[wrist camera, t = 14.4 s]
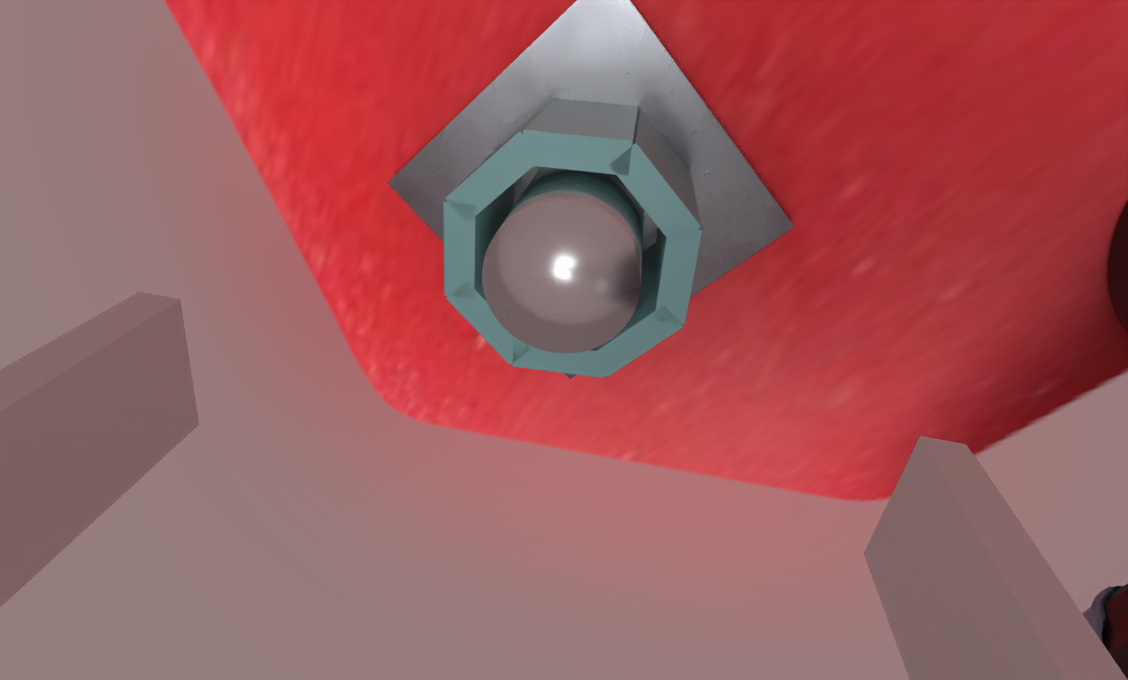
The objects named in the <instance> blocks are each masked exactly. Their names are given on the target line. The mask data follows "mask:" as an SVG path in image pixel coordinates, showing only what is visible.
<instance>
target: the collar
mask: <svg viewBox="0 0 1128 680" xmlns="http://www.w3.org/2000/svg"><path fill="white" fill-rule="evenodd" d="M533 166H540V167H550V168H559V169H568V170H578V171H587V172H597V173H606V174H616V175H617V176H618V177H619V179H620V180H621V181H622V182H623V184H624V185H625V186H626V187H627V189H628V190H629V191H630V192H631V194H632V195H633V196H634V197H635V199H636V200H637V201H638V202H639V204H640V205H641V206H642V207H643V209H644V210H645V211H646V212H647V214H648V215H649V216H650V217H651V219H652V220H653V221H654V222H655V224H656V225H657V226H658V229H657V236H656V242H655V243H654V244H653V245H651V246H650V247H648V248H647V249H646V250H644V251H643V252H642V265H641V284H640V295H639V299H638V303H637V306H636V309H635V311H634V313H633V315H632V317H631V319H630V320H629V322H628V323H627V324H626V326H625V327H624V328H623V329H622V330H621V331H620V332H619V333H618V334H617V335H616V336H615V337H613V338H612V339H611V340H609V341H608V342H606V343H604V344H603V345H601V346H598V347H596V348H594V349H591V350H587V351H584V352H578V353H566V354H564V353H553V352H547V351H543V350H540V349H536V348H534V347H532V346H529V345H527V344H525V343H523V342H522V341H520V340H518V339H517V338H515V337H514V336H513V335H511V334H510V333H509V332H508V331H507V330H506V329H505V328H504V327H503V326H502V325H501V324H500V323H499V321H498V320H497V319H496V317H495V316H494V314H493V313H492V311H491V309H490V307H489V305H488V303H487V300H486V297H485V294H484V290H483V284H482V267H483V261H484V257H485V254H486V251H487V248H488V246H489V244H490V242H491V241H492V239H493V237H494V236H495V234H496V233H497V231H498V230H499V228H500V227H501V225H502V224H503V222H504V221H505V219H506V218H507V216H508V215H509V213H510V212H511V210H512V209H513V207H514V189H515V181H517V180H518V179H519V178H520V177H521V176H522V175H524V174H525V173H526V172H527V171H528V170H529V169H531V168H532V167H533ZM701 233H702V227H701V222H700V217H699V212H698V207H697V202H696V197H695V192H694V187H693V182H692V177H691V173H690V172H689V171H688V169H687V168H686V167H685V166H684V164H683V163H682V162H681V160H680V159H679V158H678V156H677V155H676V154H675V152H674V151H673V150H672V148H671V147H670V146H669V144H668V143H667V142H666V141H665V139H664V138H663V137H662V135H661V134H660V133H659V131H658V130H657V129H656V127H655V126H654V125H653V123H652V122H651V121H650V119H649V118H648V117H647V116H646V114H645V113H644V112H643V110H642V109H641V108H640V109H638V106H629V105H619V104H609V103H599V102H589V101H579V100H568V99H558V98H554V99H553V100H552V99H551V100H550V101H549V102H548V103H547V104H546V105H545V106H543V107H542V108H541V109H540V110H539V111H538V112H537V113H536V114H535V115H533V116H532V117H531V118H530V119H529V120H528V121H527V122H526V123H525V124H524V125H522V126H521V127H520V128H519V129H518V130H517V131H516V132H515V133H514V134H512V135H511V136H510V137H509V138H508V139H507V140H506V141H505V142H504V143H502V144H501V145H500V146H499V147H498V148H497V149H496V150H495V151H494V152H493V153H491V154H490V155H489V156H488V157H487V158H486V159H485V160H484V161H483V162H482V163H481V164H480V165H479V166H478V167H477V168H476V169H475V170H474V171H473V172H472V173H471V174H470V175H469V176H468V177H467V178H466V179H464V180H463V181H462V182H461V183H460V184H459V185H458V186H457V187H456V188H455V189H454V190H453V191H452V192H451V193H450V194H449V195H448V196H447V197H446V198H445V200H444V295H447V297H446V299H447V300H448V301H449V302H450V303H451V304H452V305H453V306H454V307H455V308H456V309H457V310H458V311H459V312H460V314H461V315H462V316H463V317H464V318H465V319H466V320H467V321H468V322H469V323H470V324H471V325H472V326H473V327H474V328H475V329H476V330H477V331H478V332H479V333H480V334H481V335H482V336H483V338H484V339H485V340H486V341H487V342H488V343H489V344H490V345H491V346H492V347H493V348H494V349H495V350H496V351H497V352H498V353H499V354H500V355H501V356H502V357H503V358H504V359H505V361H506V362H507V363H508V364H509V365H510V364H512V363H513V365H512V366H514V367H521V368H529V369H537V370H545V371H553V372H560V373H568V374H576V375H584V376H591V377H599V378H604V375H605V376H606V377H608V376H610V375H611V374H613V373H614V372H616V371H617V370H619V369H620V368H622V367H623V366H625V365H626V364H628V363H629V362H631V361H633V360H634V359H636V358H637V357H639V356H640V355H642V354H643V353H645V352H646V351H648V350H649V349H651V348H652V347H654V346H655V345H657V344H658V343H660V342H661V341H663V340H664V339H666V338H667V337H669V336H670V335H672V334H673V333H675V332H676V331H678V330H679V329H681V328H682V327H683V324H685V322H686V316H687V311H688V305H689V300H690V294H691V289H692V283H693V278H694V272H695V267H696V261H697V256H698V250H699V244H700V239H701Z"/></svg>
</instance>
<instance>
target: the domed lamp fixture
mask: <svg viewBox="0 0 1128 680" xmlns="http://www.w3.org/2000/svg"><path fill="white" fill-rule="evenodd" d="M554 98H558V99H568V100H579V101H589V102H599V103H609V104H619V105H629V106H638V109H640V108H641V109H642V110H643V112H644V113H645V114H646V116H647V117H648V118H649V119H650V121H651V122H652V123H653V125H654V126H655V127H656V129H657V130H658V131H659V133H660V134H661V135H662V137H663V138H664V139H665V141H666V142H667V143H668V144H669V146H670V147H671V148H672V150H673V151H674V152H675V154H676V155H677V156H678V158H679V159H680V160H681V162H682V163H683V164H684V166H685V167H686V168H687V169H688V171H689V172H690V173H691V177H692V182H693V187H694V192H695V197H696V202H697V207H698V212H699V217H700V222H701V227H702V233H701V239H700V244H699V250H698V256H697V261H696V267H695V272H694V278H693V283H692V289H691V294H690V297H692V296H693V295H694V294H696V293H697V292H699V291H700V290H702V289H703V288H705V287H706V286H708V285H709V284H711V283H712V282H714V281H715V280H717V279H718V278H720V277H721V276H722V275H724V274H725V273H727V272H728V271H730V270H731V269H733V268H734V267H736V266H737V265H739V264H740V263H742V262H743V261H745V260H746V259H747V258H749V257H750V256H752V255H753V254H755V253H756V252H758V251H759V250H761V249H762V248H764V247H765V246H767V245H768V244H770V243H771V242H773V241H774V240H775V239H777V238H778V237H780V236H781V235H783V234H784V233H786V232H787V231H789V230H790V229H792V228H793V227H794V225H793V224H792V222H791V220H790V219H789V218H788V216H787V215H786V213H785V212H784V211H783V209H782V208H781V207H780V205H779V204H778V202H777V201H776V200H775V198H774V197H773V196H772V194H771V193H770V191H769V190H768V189H767V187H766V186H765V185H764V183H763V182H762V180H761V179H760V178H759V176H758V175H757V174H756V172H755V171H754V169H753V168H752V167H751V165H750V164H749V163H748V161H747V160H746V158H745V157H744V156H743V154H742V153H741V152H740V150H739V149H738V147H737V146H736V145H735V143H734V142H733V140H732V139H731V138H730V136H729V135H728V134H727V132H726V131H725V129H724V128H723V127H722V125H721V124H720V123H719V121H718V120H717V118H716V117H715V116H714V114H713V113H712V112H711V110H710V109H709V107H708V106H707V105H706V103H705V102H704V101H703V99H702V98H701V96H700V95H699V94H698V92H697V91H696V90H695V88H694V87H693V85H692V84H691V83H690V81H689V80H688V79H687V77H686V76H685V74H684V73H683V72H682V70H681V69H680V68H679V66H678V65H677V63H676V62H675V61H674V59H673V58H672V56H671V55H670V54H669V52H668V51H667V50H666V48H665V47H664V45H663V44H662V43H661V41H660V40H659V39H658V37H657V36H656V34H655V33H654V32H653V30H652V29H651V28H650V26H649V25H648V23H647V22H646V21H645V19H644V18H643V17H642V15H641V14H640V12H639V11H638V10H637V8H636V7H635V6H634V4H633V3H632V1H631V0H577V1H576V2H575V3H574V4H573V5H572V6H571V7H569V8H568V9H567V10H566V11H565V12H564V13H563V14H562V15H561V16H560V17H559V18H558V19H557V20H556V21H555V22H554V23H553V24H552V25H551V26H550V27H549V28H548V29H547V30H546V31H545V32H544V33H542V34H541V35H540V36H539V37H538V38H537V39H536V40H535V41H534V42H533V43H532V44H531V45H530V46H529V47H528V48H527V49H526V50H525V51H524V52H523V53H522V54H521V55H520V56H519V57H518V58H517V59H515V60H514V61H513V62H512V63H511V64H510V65H509V66H508V67H507V68H506V69H505V70H504V71H503V72H502V73H501V74H500V75H499V76H498V77H497V78H496V79H495V80H494V81H493V82H492V83H491V84H490V85H488V86H487V87H486V88H485V89H484V90H483V91H482V92H481V93H480V94H479V95H478V96H477V97H476V98H475V99H474V100H473V101H472V102H471V103H470V104H469V105H468V106H467V107H466V108H465V109H464V110H463V111H461V112H460V113H459V114H458V115H457V116H456V117H455V118H454V119H453V120H452V121H451V122H450V123H449V124H448V125H447V126H446V127H445V128H444V129H443V130H442V131H441V132H440V133H439V134H438V135H437V136H436V137H434V138H433V139H432V140H431V141H430V142H429V143H428V144H427V145H426V146H425V147H424V148H423V149H422V150H421V151H420V152H419V153H418V154H417V155H416V156H415V157H414V158H413V159H412V160H411V161H410V162H409V163H407V164H406V165H405V166H404V167H403V168H402V169H401V170H400V171H399V172H398V173H397V174H396V175H395V176H394V177H393V178H392V179H391V180H390V181H389V182H388V184H389V185H390V186H391V187H392V188H393V189H394V190H395V191H396V192H397V193H398V194H399V195H400V196H401V197H402V199H403V200H404V201H405V202H406V203H407V204H408V205H409V206H410V207H411V208H412V209H413V210H414V211H415V213H416V214H417V215H418V216H419V217H420V218H421V219H422V220H423V221H424V222H425V223H426V224H427V225H428V227H429V228H430V229H431V230H432V231H433V232H434V233H435V234H436V235H437V236H438V237H439V238H440V239H441V240H442V242H443V243H444V200H445V198H446V197H447V196H448V195H449V194H450V193H451V192H452V191H453V190H454V189H455V188H456V187H457V186H458V185H459V184H460V183H461V182H462V181H463V180H464V179H466V178H467V177H468V176H469V175H470V174H471V173H472V172H473V171H474V170H475V169H476V168H477V167H478V166H479V165H480V164H481V163H482V162H483V161H484V160H485V159H486V158H487V157H488V156H489V155H490V154H491V153H493V152H494V151H495V150H496V149H497V148H498V147H499V146H500V145H501V144H502V143H504V142H505V141H506V140H507V139H508V138H509V137H510V136H511V135H512V134H514V133H515V132H516V131H517V130H518V129H519V128H520V127H521V126H522V125H524V124H525V123H526V122H527V121H528V120H529V119H530V118H531V117H532V116H533V115H535V114H536V113H537V112H538V111H539V110H540V109H541V108H542V107H543V106H545V105H546V104H547V103H548V102H549V101H550V100H551V99H552V100H553V99H554ZM657 229H658V226H657V225H656V224H655V222H654V221H653V220H652V219H651V217H650V216H649V215H648V214H647V212H646V211H645V210H644V209H643V207H642V206H641V205H640V204H639V202H638V201H637V200H636V199H635V197H634V196H633V195H632V194H631V192H630V191H629V190H628V189H627V187H626V186H625V185H624V184H623V182H622V181H621V180H620V179H619V177H618V176H617V175H616V174H606V173H597V172H587V171H578V170H568V169H559V168H550V167H540V166H533V167H532V168H531V169H529V170H528V171H527V172H526V173H525V174H524V175H522V176H521V177H520V178H519V179H518V180H517V181H515V189H514V207H513V209H512V210H511V212H510V213H509V215H508V216H507V218H506V219H505V221H504V222H503V224H502V225H501V227H500V228H499V230H498V231H497V233H496V234H495V236H494V237H493V239H492V241H491V242H490V244H489V246H488V248H487V251H486V254H485V257H484V261H483V267H482V284H483V290H484V294H485V297H486V300H487V303H488V305H489V307H490V309H491V311H492V313H493V314H494V316H495V317H496V319H497V320H498V321H499V323H500V324H501V325H502V326H503V327H504V328H505V329H506V330H507V331H508V332H509V333H510V334H511V335H513V336H514V337H515V338H517V339H518V340H520V341H522V342H523V343H525V344H527V345H529V346H532V347H534V348H536V349H540V350H543V351H547V352H553V353H564V354H566V353H578V352H584V351H587V350H591V349H594V348H596V347H598V346H601V345H603V344H604V343H606V342H608V341H609V340H611V339H612V338H613V337H615V336H616V335H617V334H618V333H619V332H620V331H621V330H622V329H623V328H624V327H625V326H626V324H627V323H628V322H629V320H630V319H631V317H632V315H633V313H634V311H635V309H636V306H637V303H638V299H639V295H640V284H641V265H642V252H643V251H644V250H646V249H647V248H648V247H650V246H651V245H653V244H654V243H655V242H656V236H657ZM565 374H566V375H567V376H568V377H569V378H570V379H571V378H572V377H574V376H575V375H576V374H568V373H565Z"/></svg>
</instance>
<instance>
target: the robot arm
mask: <svg viewBox="0 0 1128 680" xmlns="http://www.w3.org/2000/svg"><path fill="white" fill-rule="evenodd" d="M1109 287H1110V294H1111V299H1112V302H1113V306H1114V309H1115V311H1116V314H1117V316H1118V318H1119V320H1120V322H1121V323H1122V325H1123V327H1124V328H1125V330H1126V331H1127V332H1128V206H1127V208H1126V210H1125V212H1124V214H1123V216H1122V218H1121V221H1120V223H1119V226H1118V228H1117V231H1116V234H1115V238H1114V241H1113V245H1112V249H1111V254H1110V262H1109ZM198 425H199V421H198V414H197V407H196V401H195V394H194V388H193V381H192V375H191V368H190V362H189V355H188V349H187V342H186V335H185V329H184V322H183V316H182V309H181V302H180V299H176V298H170V297H165V296H159V295H154V294H149V293H143V292H138V293H136V294H135V295H133V296H131V297H129V298H128V299H126V300H124V301H122V302H121V303H119V304H117V305H115V306H113V307H112V308H110V309H108V310H106V311H105V312H103V313H101V314H99V315H97V316H96V317H94V318H92V319H90V320H88V321H87V322H85V323H83V324H81V325H79V326H78V327H76V328H74V329H72V330H70V331H69V332H67V333H66V334H63V335H62V336H60V337H58V338H56V339H55V340H53V341H51V342H49V343H47V344H46V345H44V346H42V347H40V348H39V349H37V350H35V351H33V352H31V353H29V354H28V355H26V356H24V357H22V358H21V359H19V360H17V361H15V362H14V363H12V364H10V365H8V366H6V367H5V368H3V369H1V370H0V607H1V606H2V605H3V604H4V603H5V602H7V601H8V600H9V599H10V598H11V597H12V596H13V595H14V594H15V593H16V592H18V591H19V590H20V589H21V588H22V587H23V586H24V585H25V584H26V583H27V582H28V581H29V580H30V579H32V578H33V577H34V576H35V575H36V574H37V573H38V572H39V571H40V570H41V569H43V568H44V567H45V566H46V565H47V564H48V563H49V562H50V561H51V560H52V559H53V558H54V557H55V556H57V555H58V554H59V553H60V552H61V551H62V550H63V549H64V548H65V547H66V546H68V545H69V544H70V543H71V542H72V541H73V540H74V539H75V538H76V537H77V536H78V535H79V534H80V533H82V532H83V531H84V530H85V529H86V528H87V527H88V526H89V525H90V524H91V523H93V522H94V521H95V520H96V519H97V518H98V517H99V516H100V515H101V514H102V513H103V512H104V511H106V509H108V508H109V507H110V506H111V505H112V504H113V503H114V502H115V501H116V500H117V499H119V498H120V497H121V496H122V495H123V494H124V493H125V492H126V491H127V490H128V489H129V488H131V487H132V486H133V485H134V484H135V483H136V482H137V481H138V480H139V479H140V478H141V477H143V476H144V475H145V474H146V473H147V472H148V471H149V470H150V469H151V468H152V467H153V466H154V465H156V464H157V463H158V462H159V461H160V460H161V459H162V458H163V457H164V456H165V455H166V454H167V453H169V451H171V450H172V449H173V448H174V447H175V446H176V445H177V444H178V443H179V442H180V441H182V440H183V439H184V438H185V437H186V436H187V435H188V434H189V433H190V432H191V431H192V430H193V429H194V428H196V427H197V426H198ZM864 556H865V558H866V561H867V564H868V567H869V569H870V572H871V575H872V578H873V580H874V583H875V586H876V589H877V591H878V594H879V597H880V600H881V602H882V605H883V608H884V611H885V613H886V616H887V619H888V621H889V624H890V627H891V630H892V632H893V635H894V638H895V641H896V643H897V646H898V649H899V651H900V654H901V657H902V660H903V662H904V665H905V668H906V671H907V673H908V676H909V679H910V680H1128V584H1127V585H1125V586H1115V587H1108V588H1106V589H1104V590H1103V591H1101V592H1100V593H1099V594H1098V595H1097V596H1096V597H1095V599H1094V601H1093V603H1092V606H1091V607H1090V608H1089V609H1087V610H1086V611H1085V612H1083V613H1081V611H1080V610H1079V608H1078V607H1077V605H1076V604H1075V602H1074V601H1073V599H1072V598H1071V596H1070V595H1069V594H1068V592H1067V591H1066V589H1065V588H1064V586H1063V585H1062V583H1061V582H1060V580H1059V579H1058V578H1057V576H1056V575H1055V573H1054V572H1053V570H1052V569H1051V567H1050V566H1049V564H1048V563H1047V561H1046V560H1045V559H1044V557H1043V556H1042V554H1041V553H1040V551H1039V550H1038V548H1037V547H1036V545H1035V544H1034V542H1033V541H1032V540H1031V538H1030V537H1029V535H1028V534H1027V532H1026V531H1025V529H1024V528H1023V526H1022V525H1021V523H1020V522H1019V521H1018V519H1017V518H1016V516H1015V515H1014V513H1013V512H1012V510H1011V509H1010V507H1009V506H1008V504H1007V503H1006V502H1005V500H1004V499H1003V497H1002V496H1001V494H1000V493H999V491H998V490H997V489H996V487H995V486H994V484H993V483H992V481H991V480H990V478H989V477H988V476H987V474H986V472H985V471H984V469H983V468H982V467H981V465H980V464H979V462H978V461H977V459H976V458H975V456H974V455H973V453H972V452H971V450H970V449H969V448H968V446H967V445H966V444H963V443H957V442H952V441H946V440H941V439H935V438H930V437H925V436H920V437H919V439H918V441H917V443H916V445H915V448H914V450H913V452H912V454H911V456H910V458H909V460H908V462H907V464H906V466H905V468H904V471H903V473H902V475H901V477H900V479H899V481H898V483H897V485H896V487H895V489H894V491H893V494H892V496H891V498H890V500H889V502H888V504H887V506H886V508H885V510H884V512H883V514H882V517H881V519H880V521H879V523H878V525H877V527H876V529H875V531H874V533H873V536H872V537H871V539H870V542H869V544H868V546H867V548H866V550H865V552H864Z"/></svg>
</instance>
